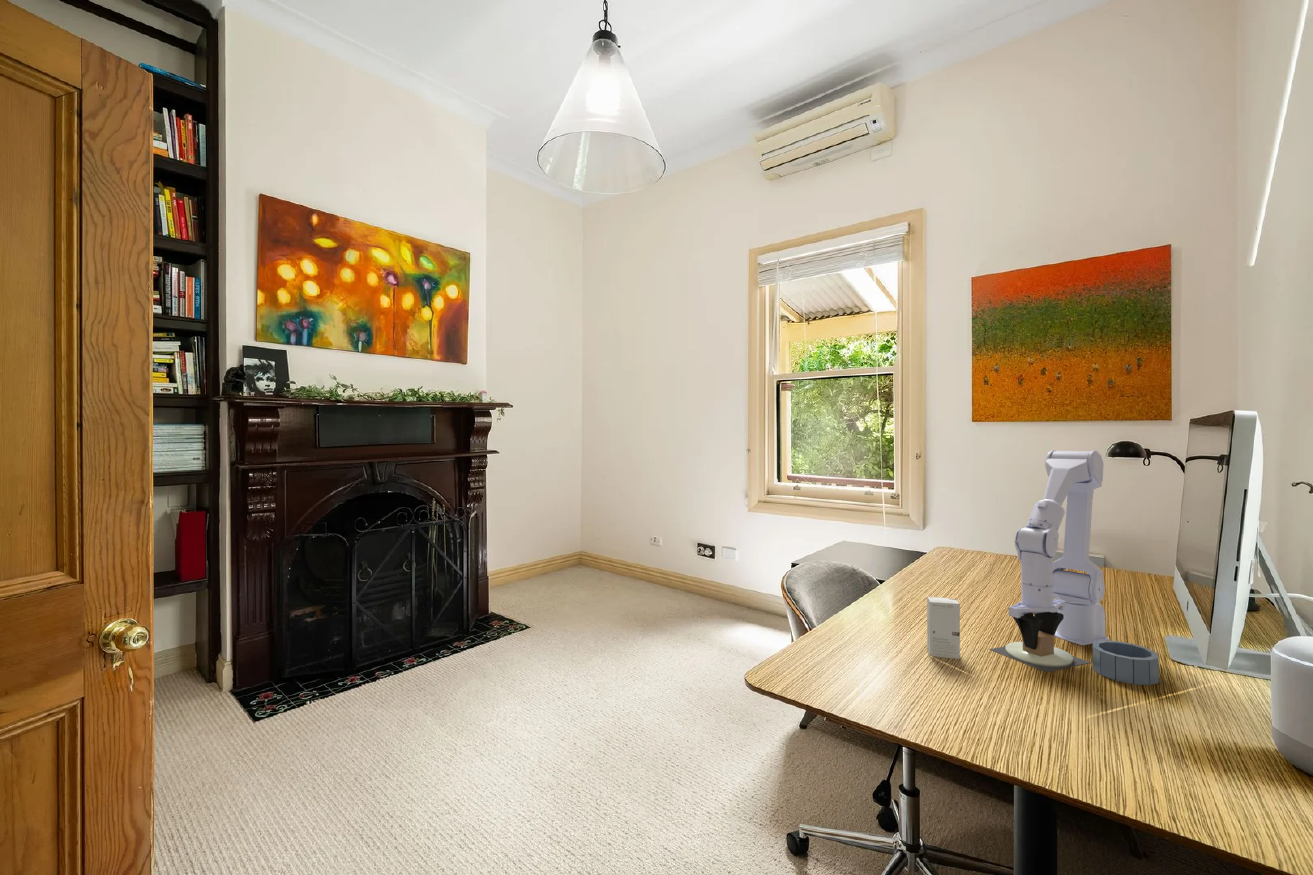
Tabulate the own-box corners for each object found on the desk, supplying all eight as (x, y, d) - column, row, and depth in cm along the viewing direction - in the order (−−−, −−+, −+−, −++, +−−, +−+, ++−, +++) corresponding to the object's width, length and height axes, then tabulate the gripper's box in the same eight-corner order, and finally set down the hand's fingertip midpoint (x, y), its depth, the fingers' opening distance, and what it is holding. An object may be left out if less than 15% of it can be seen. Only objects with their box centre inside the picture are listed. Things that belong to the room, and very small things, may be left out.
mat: (1031, 642, 128) (1031, 641, 128) (1091, 663, 116) (1091, 662, 116) (989, 650, 124) (989, 649, 124) (1046, 673, 112) (1046, 672, 112)
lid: (1031, 642, 128) (1031, 621, 128) (1086, 661, 116) (1086, 638, 116) (992, 649, 124) (992, 628, 124) (1046, 670, 112) (1045, 647, 112)
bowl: (1114, 661, 117) (1113, 637, 117) (1171, 680, 107) (1170, 655, 107) (1081, 668, 114) (1080, 644, 114) (1137, 689, 104) (1136, 662, 104)
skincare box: (930, 657, 121) (928, 601, 121) (926, 649, 125) (925, 596, 125) (961, 660, 119) (960, 603, 119) (957, 652, 124) (955, 597, 124)
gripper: (1030, 591, 114) (1031, 658, 114) (1079, 584, 119) (1080, 647, 119) (999, 583, 121) (1000, 646, 121) (1046, 576, 125) (1048, 636, 125)
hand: (1038, 646), depth 120 cm, fingers closed on lid, 4 cm apart
